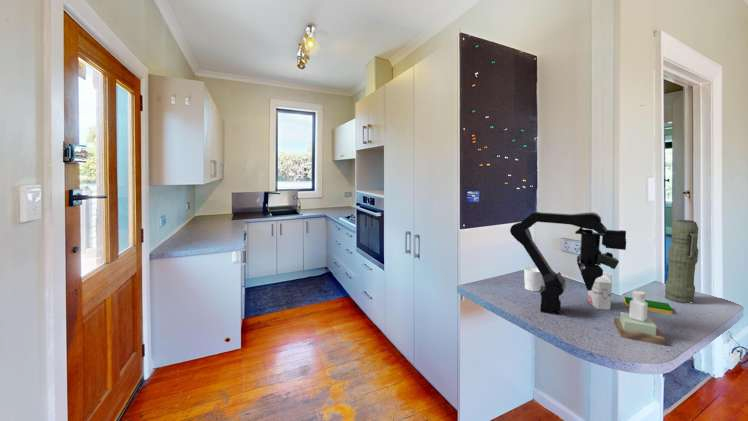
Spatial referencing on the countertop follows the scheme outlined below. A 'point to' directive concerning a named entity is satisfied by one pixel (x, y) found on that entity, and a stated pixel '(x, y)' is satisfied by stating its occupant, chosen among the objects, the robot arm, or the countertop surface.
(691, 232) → the thermos
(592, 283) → the robot arm
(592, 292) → the ink cartridge box
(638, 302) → the pepper shaker
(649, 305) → the dish sponge
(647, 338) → the tower base block
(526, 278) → the white cup
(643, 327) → the tower top block
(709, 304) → the countertop surface
